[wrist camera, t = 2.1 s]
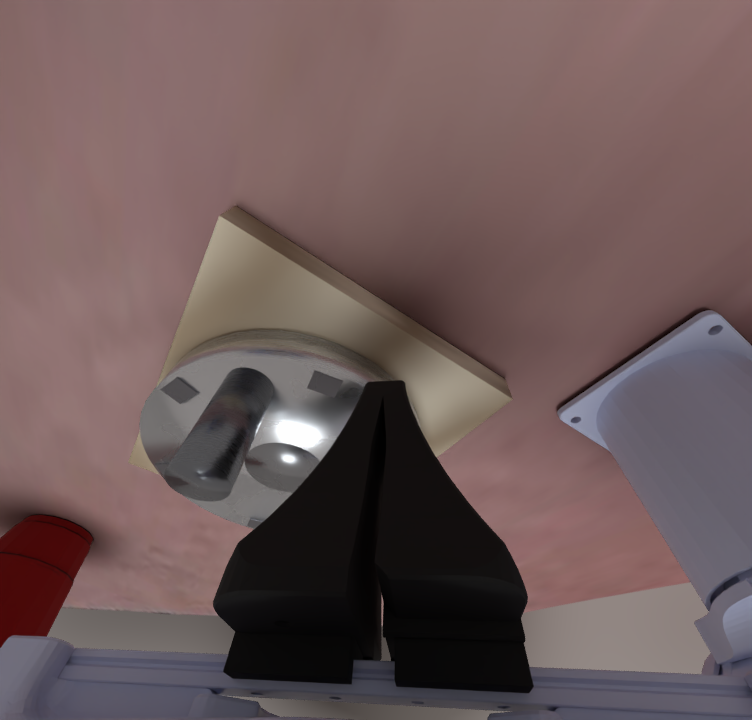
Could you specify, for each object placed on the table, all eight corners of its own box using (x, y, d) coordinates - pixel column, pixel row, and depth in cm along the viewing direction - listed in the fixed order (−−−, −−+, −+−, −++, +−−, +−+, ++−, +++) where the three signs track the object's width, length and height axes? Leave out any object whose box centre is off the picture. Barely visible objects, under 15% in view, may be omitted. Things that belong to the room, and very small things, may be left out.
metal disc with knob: (424, 506, 22) (432, 629, 17) (221, 507, 24) (171, 620, 18) (417, 319, 14) (428, 446, 9) (107, 339, 15) (-41, 456, 10)
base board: (505, 379, 18) (513, 402, 16) (334, 519, 27) (330, 540, 26) (234, 205, 13) (215, 216, 12) (141, 443, 23) (125, 465, 21)
